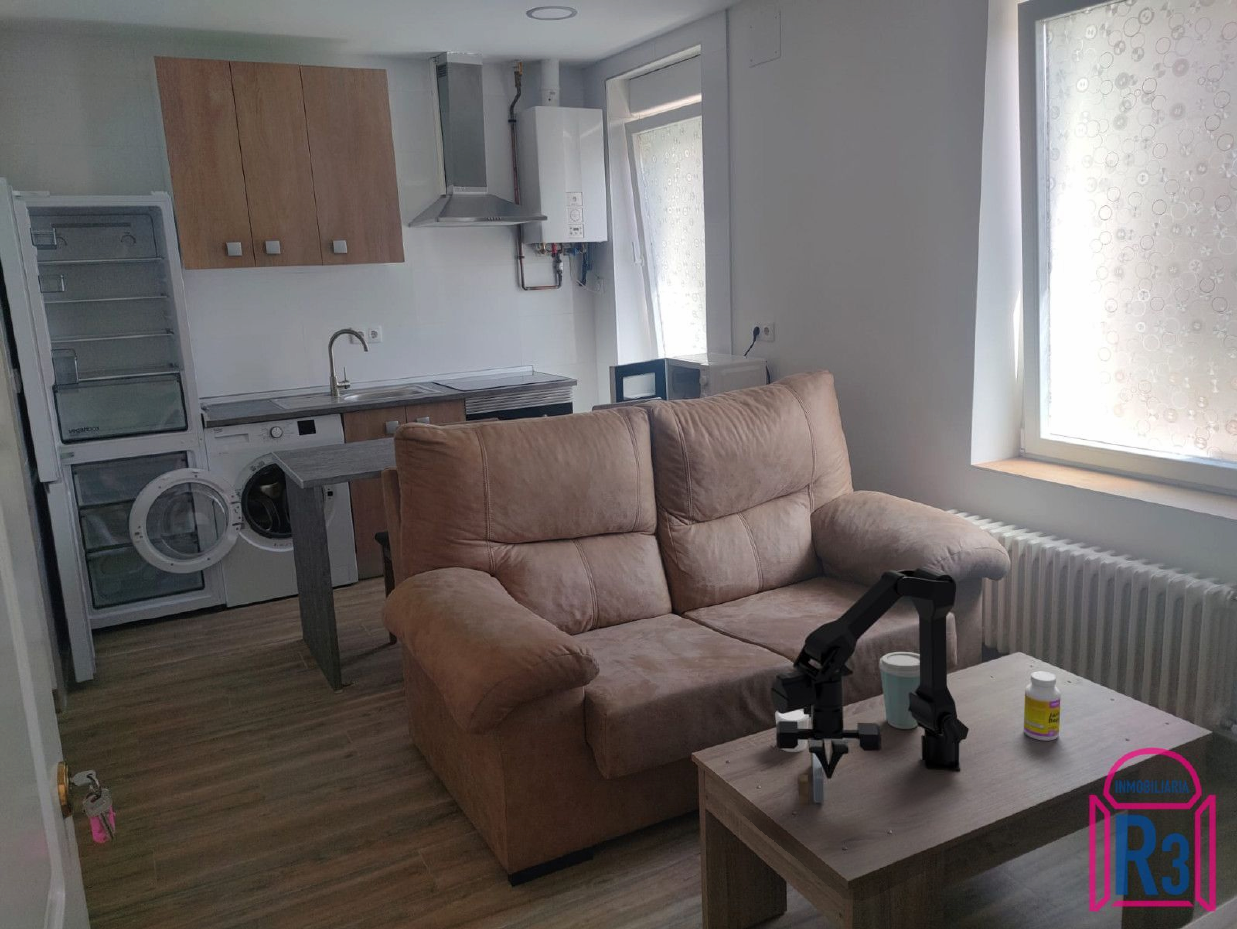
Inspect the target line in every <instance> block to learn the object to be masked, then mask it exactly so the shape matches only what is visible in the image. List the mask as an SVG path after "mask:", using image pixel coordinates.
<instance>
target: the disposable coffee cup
mask: <svg viewBox="0 0 1237 929" xmlns="http://www.w3.org/2000/svg"><path fill="white" fill-rule="evenodd" d="M878 668H879V670H880V678H881V684H882V694H883V702H884V709H885V717H886V720H887V722H888V724H889V725H890V726H891V727H894V728H896V729H903V730H910V729H914V728H916V727H917V726H918V724H917V721H916V720H915V719H914V718H913V717H912V715H911V712H910V711H908V708H909V703H910V702H909V693H910V692H915V690H916V689H917V687H918V686H919V685H920V653H916V652H911V651H910V652H909V651H908V652H907V651H895V652H889V653H886V654H885V655H883V656H882V657H881V658H879V662H878Z"/></svg>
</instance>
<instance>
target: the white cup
mask: <svg viewBox="0 0 1237 929" xmlns="http://www.w3.org/2000/svg"><path fill="white" fill-rule="evenodd" d="M774 716H775V717H774V718H775V725H776V726H777V723H778V722H779V721H797V723H798V729H809V721H810V720H809V719H810V714H804V711H803V709H800V710H796V711H792V712H788V713H785V714H781V713H779V712H778V711H777V710H776V711H775V713H774ZM807 745H808V740H798V746H796V747H795V748H794V749H781V750H783V751H785V752H789V753H798V752H803V751H804V750H805V749H806V747H807Z"/></svg>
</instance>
